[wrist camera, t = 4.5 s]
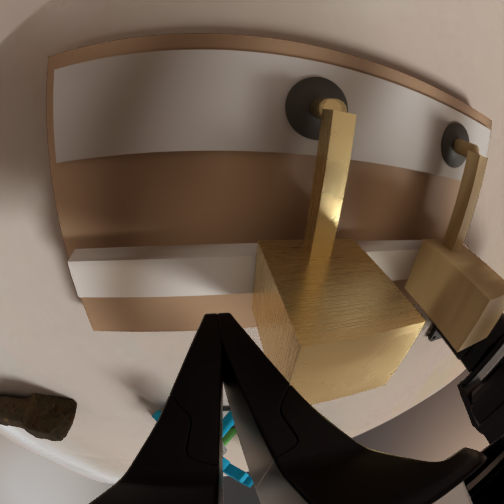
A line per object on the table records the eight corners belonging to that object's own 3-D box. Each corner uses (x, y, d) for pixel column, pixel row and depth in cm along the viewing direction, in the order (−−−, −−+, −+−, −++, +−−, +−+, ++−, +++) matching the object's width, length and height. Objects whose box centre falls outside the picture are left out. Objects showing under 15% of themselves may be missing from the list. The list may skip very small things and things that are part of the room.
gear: (130, 405, 16) (243, 493, 12) (182, 355, 20) (294, 426, 16) (168, 438, 23) (246, 493, 19) (202, 402, 27) (279, 451, 23)
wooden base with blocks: (474, 115, 11) (570, 153, 5) (425, 287, 18) (484, 356, 11) (64, 59, 7) (-65, 48, 1) (99, 311, 14) (70, 432, 7)
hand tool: (-8, 402, 18) (-16, 430, 15) (-28, 383, 16) (-37, 412, 12) (93, 411, 20) (89, 452, 16) (69, 389, 18) (61, 435, 14)
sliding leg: (368, 108, 9) (490, 139, 4) (331, 291, 13) (385, 384, 8) (266, 90, 8) (353, 83, 3) (249, 298, 12) (280, 410, 8)
